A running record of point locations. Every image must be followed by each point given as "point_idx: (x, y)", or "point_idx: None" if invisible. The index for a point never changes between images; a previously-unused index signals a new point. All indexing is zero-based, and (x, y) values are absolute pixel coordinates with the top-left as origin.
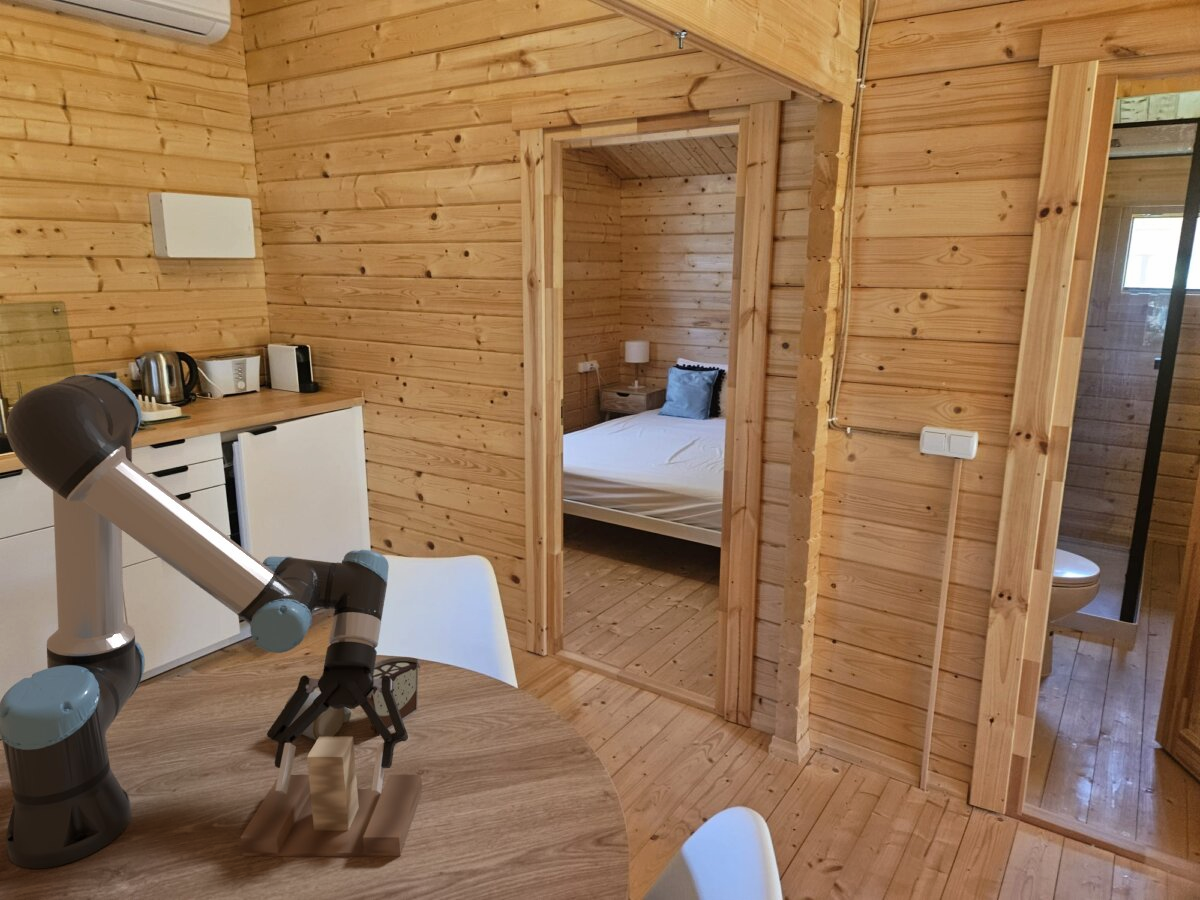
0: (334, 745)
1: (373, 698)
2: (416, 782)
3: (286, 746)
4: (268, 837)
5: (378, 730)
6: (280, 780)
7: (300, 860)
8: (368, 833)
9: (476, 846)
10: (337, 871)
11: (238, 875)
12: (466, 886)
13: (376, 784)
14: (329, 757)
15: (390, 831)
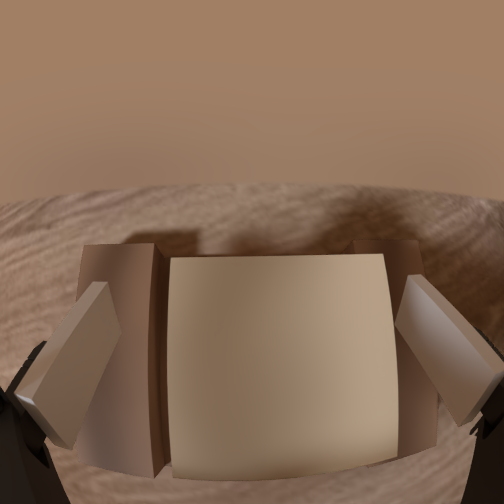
0: (265, 382)
1: None
2: (78, 435)
3: (494, 360)
4: (368, 240)
5: (15, 453)
6: (428, 290)
7: (291, 247)
8: (144, 255)
9: (7, 282)
10: (208, 222)
11: (378, 213)
12: (27, 205)
13: (88, 291)
14: (253, 259)
15: (100, 262)
